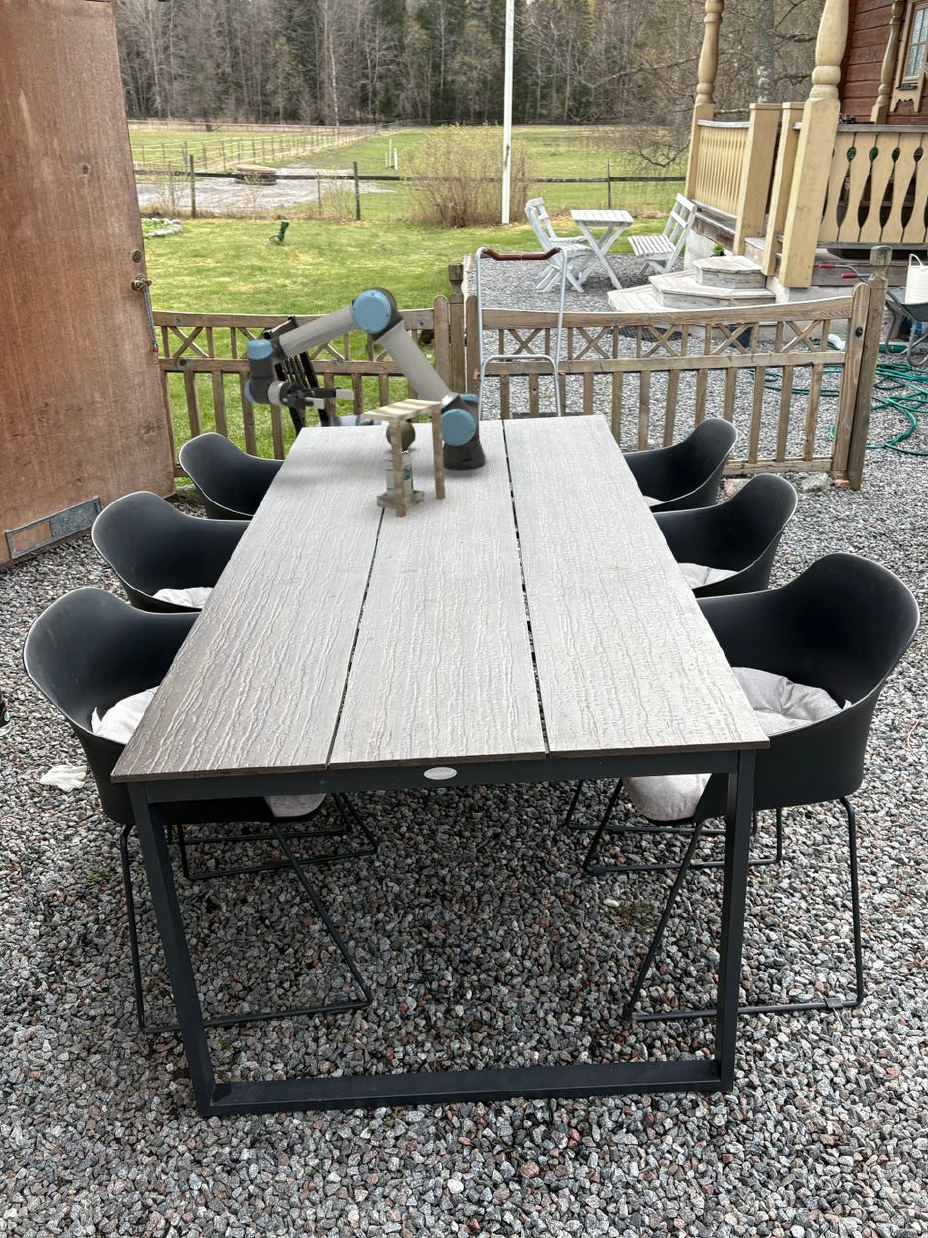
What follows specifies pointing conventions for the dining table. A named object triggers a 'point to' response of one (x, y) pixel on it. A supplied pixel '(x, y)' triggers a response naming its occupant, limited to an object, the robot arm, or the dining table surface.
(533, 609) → the dining table surface
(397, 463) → the awning stand
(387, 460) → the syrup box
